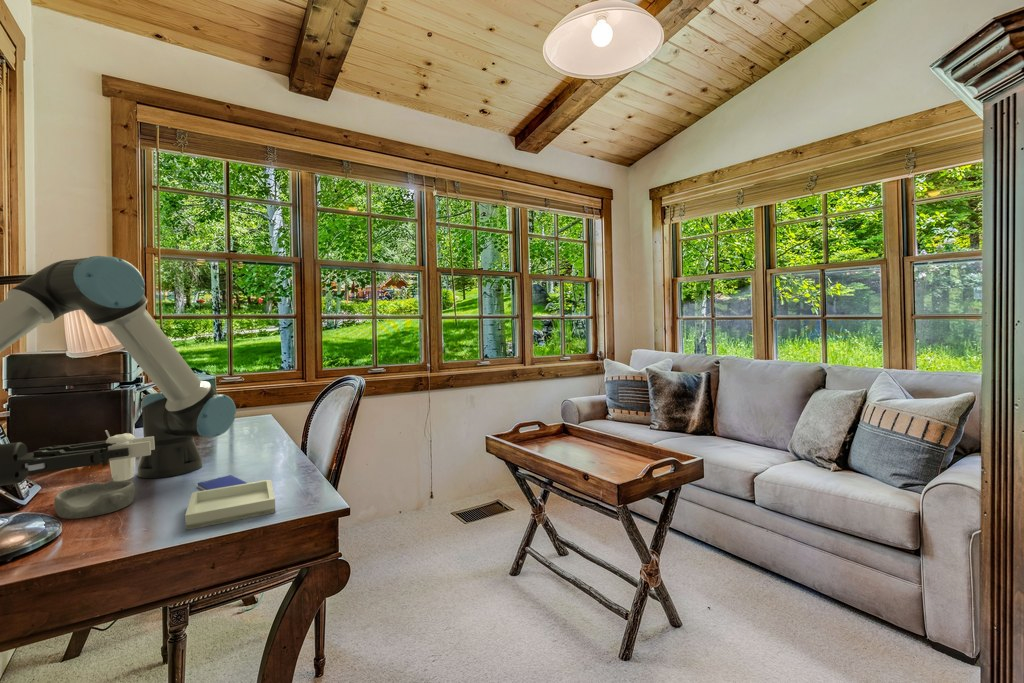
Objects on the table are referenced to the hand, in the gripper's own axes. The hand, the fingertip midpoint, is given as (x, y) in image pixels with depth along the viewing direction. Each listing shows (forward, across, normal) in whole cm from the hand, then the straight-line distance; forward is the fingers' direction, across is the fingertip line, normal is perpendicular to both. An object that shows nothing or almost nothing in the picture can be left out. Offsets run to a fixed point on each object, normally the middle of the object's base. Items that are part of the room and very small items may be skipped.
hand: (151, 445), depth 99 cm
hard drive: (+11, -19, -17) cm, 28 cm away
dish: (-13, -19, -17) cm, 29 cm away
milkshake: (-5, 0, -6) cm, 8 cm away
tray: (+14, 0, -16) cm, 21 cm away
